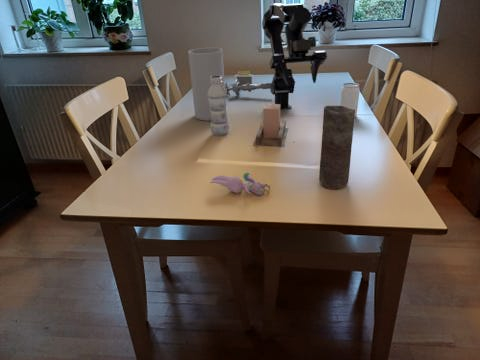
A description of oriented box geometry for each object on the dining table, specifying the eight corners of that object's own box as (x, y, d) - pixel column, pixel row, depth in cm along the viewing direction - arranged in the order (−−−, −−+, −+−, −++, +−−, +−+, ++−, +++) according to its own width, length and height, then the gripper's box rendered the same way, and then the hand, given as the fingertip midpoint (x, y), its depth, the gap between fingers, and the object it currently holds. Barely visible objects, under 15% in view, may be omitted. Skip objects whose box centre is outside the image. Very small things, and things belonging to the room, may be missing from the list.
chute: (260, 129, 126) (260, 119, 124) (288, 130, 124) (288, 120, 122) (252, 147, 112) (252, 136, 110) (284, 149, 110) (284, 137, 108)
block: (265, 132, 121) (265, 103, 116) (280, 132, 120) (280, 104, 115) (263, 137, 117) (263, 108, 112) (278, 138, 116) (278, 109, 111)
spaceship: (273, 83, 151) (275, 72, 156) (198, 89, 161) (202, 79, 166) (276, 97, 157) (277, 86, 162) (203, 103, 167) (207, 92, 172)
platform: (230, 81, 191) (230, 69, 188) (263, 81, 188) (263, 69, 185) (225, 87, 181) (224, 74, 178) (259, 87, 178) (259, 74, 174)
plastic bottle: (232, 132, 125) (229, 74, 115) (225, 139, 119) (221, 79, 109) (215, 130, 127) (210, 74, 117) (207, 137, 121) (202, 78, 111)
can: (357, 119, 131) (361, 87, 125) (339, 118, 132) (342, 87, 126) (355, 113, 136) (359, 82, 130) (338, 113, 138) (341, 82, 132)
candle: (315, 176, 94) (320, 103, 84) (341, 174, 94) (350, 101, 85) (323, 191, 87) (330, 113, 78) (352, 189, 88) (362, 111, 78)
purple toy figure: (269, 191, 91) (213, 180, 92) (273, 171, 88) (215, 160, 89) (266, 204, 86) (207, 192, 87) (270, 184, 83) (209, 172, 84)
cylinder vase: (232, 114, 141) (229, 49, 129) (210, 123, 133) (204, 54, 121) (211, 109, 149) (206, 46, 136) (188, 117, 141) (181, 51, 129)
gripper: (273, 29, 111) (280, 76, 110) (329, 25, 113) (337, 71, 112) (266, 46, 122) (272, 89, 121) (317, 42, 124) (324, 85, 123)
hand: (301, 83), depth 119 cm, fingers open, 9 cm apart
